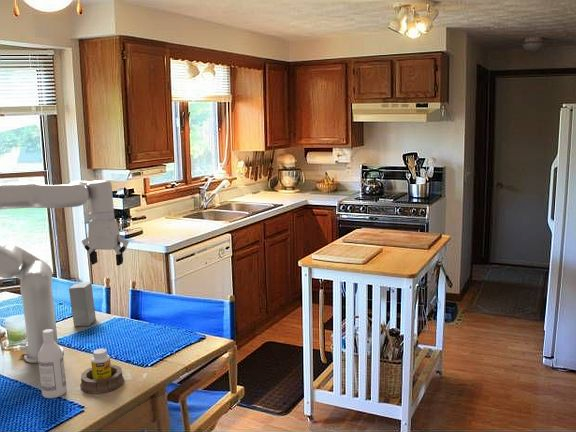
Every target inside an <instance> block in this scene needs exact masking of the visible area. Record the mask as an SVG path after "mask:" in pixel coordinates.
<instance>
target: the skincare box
mask: <svg viewBox="0 0 576 432" xmlns="http://www.w3.org/2000/svg"><path fill="white" fill-rule="evenodd" d="M68 293H69V300H70V305H71V306H70V307H71V313H72V323H73V326H74V327H86V326H88V327H89V326H91V325H92V323H93V322H95V320H96V319H97V317H96V310H95V301H94V295H93V294H94V293H93V285H92V281H91V282H89V281H87V282H76V283H75V284H72V285H71V287H69V288H68Z"/></svg>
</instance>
